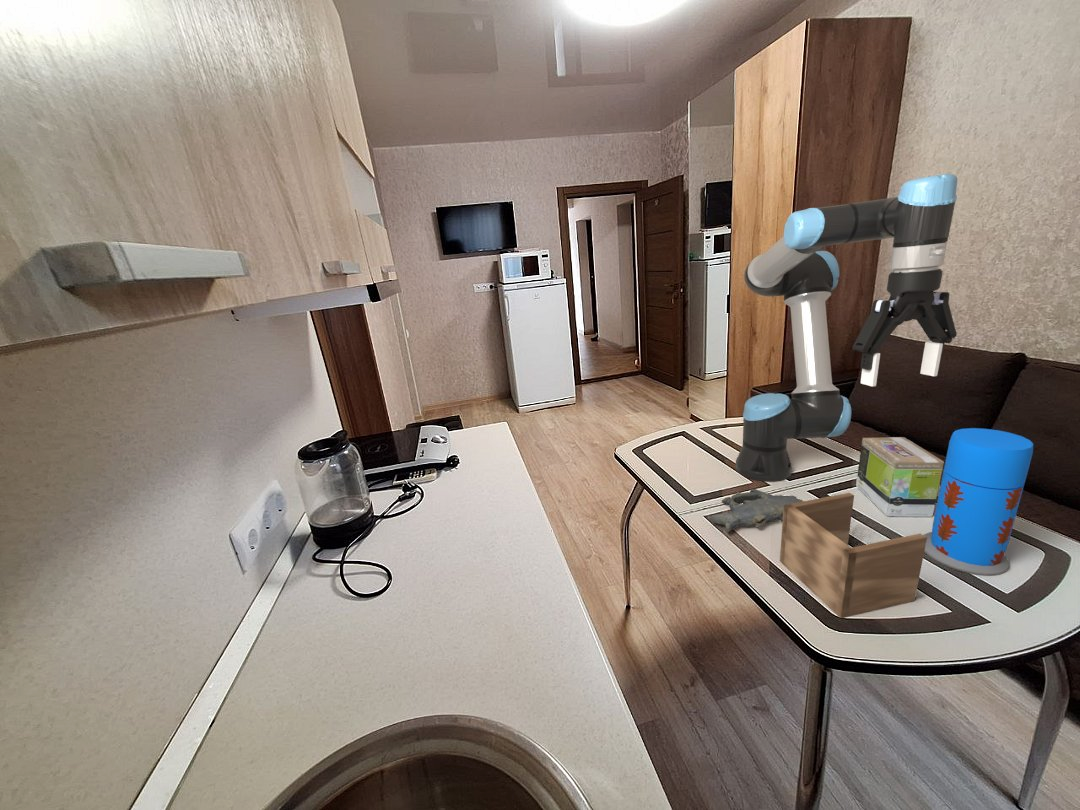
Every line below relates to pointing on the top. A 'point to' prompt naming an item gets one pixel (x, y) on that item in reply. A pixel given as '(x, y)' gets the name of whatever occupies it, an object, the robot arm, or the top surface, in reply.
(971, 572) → the coaster
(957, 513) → the thermos
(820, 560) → the walnut cubby
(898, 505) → the tea box
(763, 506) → the stone fish figurine
